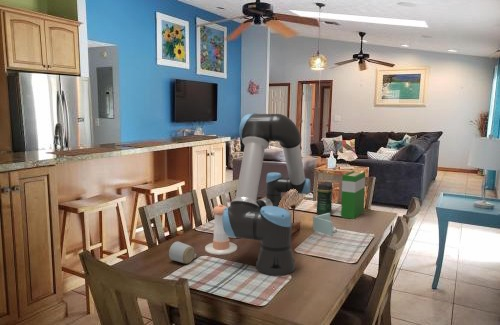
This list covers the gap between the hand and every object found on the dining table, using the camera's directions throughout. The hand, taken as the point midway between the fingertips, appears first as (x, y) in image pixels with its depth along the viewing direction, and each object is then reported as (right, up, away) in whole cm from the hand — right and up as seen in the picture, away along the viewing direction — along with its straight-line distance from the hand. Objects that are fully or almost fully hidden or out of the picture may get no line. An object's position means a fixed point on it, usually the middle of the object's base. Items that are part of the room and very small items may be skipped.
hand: (231, 216), depth 174 cm
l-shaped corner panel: (+48, -11, +21) cm, 54 cm away
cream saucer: (-4, -14, -4) cm, 15 cm away
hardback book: (+68, -6, +51) cm, 85 cm away
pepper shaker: (-4, -13, -3) cm, 14 cm away
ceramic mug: (-18, -16, -16) cm, 29 cm away
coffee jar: (+51, -6, +52) cm, 73 cm away
